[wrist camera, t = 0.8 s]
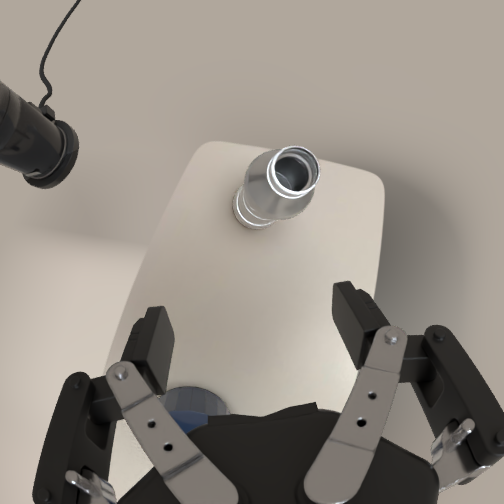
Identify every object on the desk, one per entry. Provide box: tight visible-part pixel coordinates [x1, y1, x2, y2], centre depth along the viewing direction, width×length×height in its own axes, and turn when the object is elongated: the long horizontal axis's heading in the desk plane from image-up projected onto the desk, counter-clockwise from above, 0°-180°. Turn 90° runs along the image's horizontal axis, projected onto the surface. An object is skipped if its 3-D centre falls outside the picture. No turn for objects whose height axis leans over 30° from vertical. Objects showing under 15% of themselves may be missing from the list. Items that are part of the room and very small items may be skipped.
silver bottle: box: [233, 146, 320, 229], centre depth 29 cm, size 6×7×20 cm
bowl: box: [159, 387, 230, 434], centre depth 35 cm, size 12×12×7 cm
